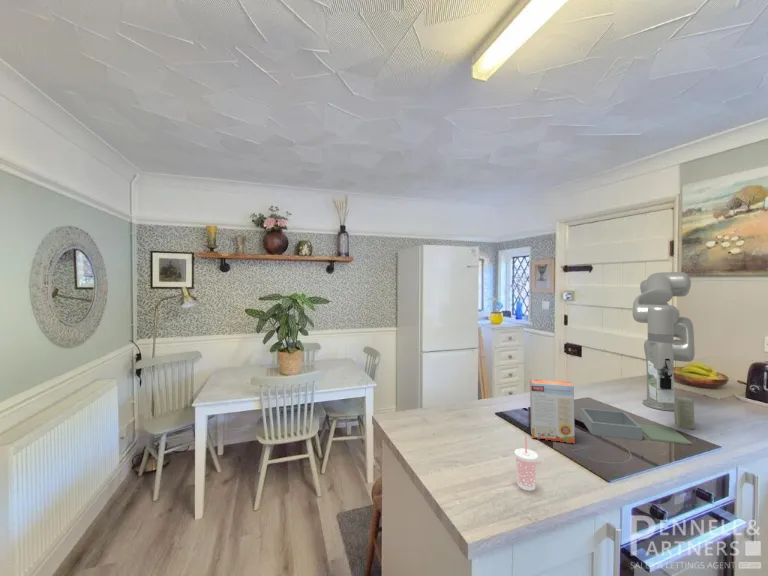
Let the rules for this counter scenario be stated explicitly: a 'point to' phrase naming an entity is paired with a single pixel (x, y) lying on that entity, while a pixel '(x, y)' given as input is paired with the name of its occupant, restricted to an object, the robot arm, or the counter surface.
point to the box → (684, 412)
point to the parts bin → (613, 430)
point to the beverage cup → (526, 467)
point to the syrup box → (654, 386)
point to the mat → (663, 434)
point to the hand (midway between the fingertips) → (660, 385)
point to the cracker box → (552, 410)
